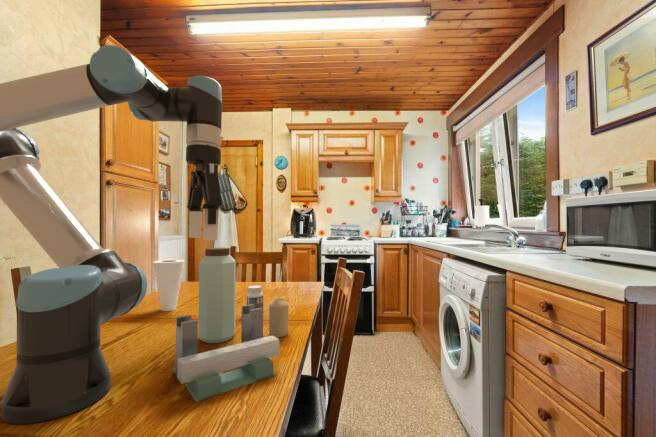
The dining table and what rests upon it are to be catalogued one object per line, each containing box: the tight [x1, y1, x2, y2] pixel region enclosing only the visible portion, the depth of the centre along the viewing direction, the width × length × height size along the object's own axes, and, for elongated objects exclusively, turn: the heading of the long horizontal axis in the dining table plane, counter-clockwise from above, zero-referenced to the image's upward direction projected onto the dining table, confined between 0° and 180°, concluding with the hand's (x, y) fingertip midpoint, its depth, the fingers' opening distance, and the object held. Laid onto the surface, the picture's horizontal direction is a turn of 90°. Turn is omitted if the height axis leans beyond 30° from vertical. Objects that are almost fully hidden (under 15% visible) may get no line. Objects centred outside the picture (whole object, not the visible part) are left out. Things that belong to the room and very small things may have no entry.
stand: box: [172, 304, 264, 380], centre depth 71 cm, size 19×6×12 cm, turn 128°
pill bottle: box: [246, 285, 264, 309], centre depth 110 cm, size 6×6×10 cm
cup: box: [152, 259, 186, 312], centre depth 118 cm, size 11×11×18 cm
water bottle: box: [198, 247, 237, 344], centre depth 88 cm, size 10×10×25 cm
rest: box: [185, 358, 276, 403], centre depth 64 cm, size 16×7×3 cm, turn 128°
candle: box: [268, 298, 289, 338], centre depth 91 cm, size 6×6×10 cm
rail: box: [176, 335, 280, 385], centre depth 64 cm, size 20×3×4 cm, turn 128°
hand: (202, 239), depth 72 cm, fingers open, 13 cm apart
